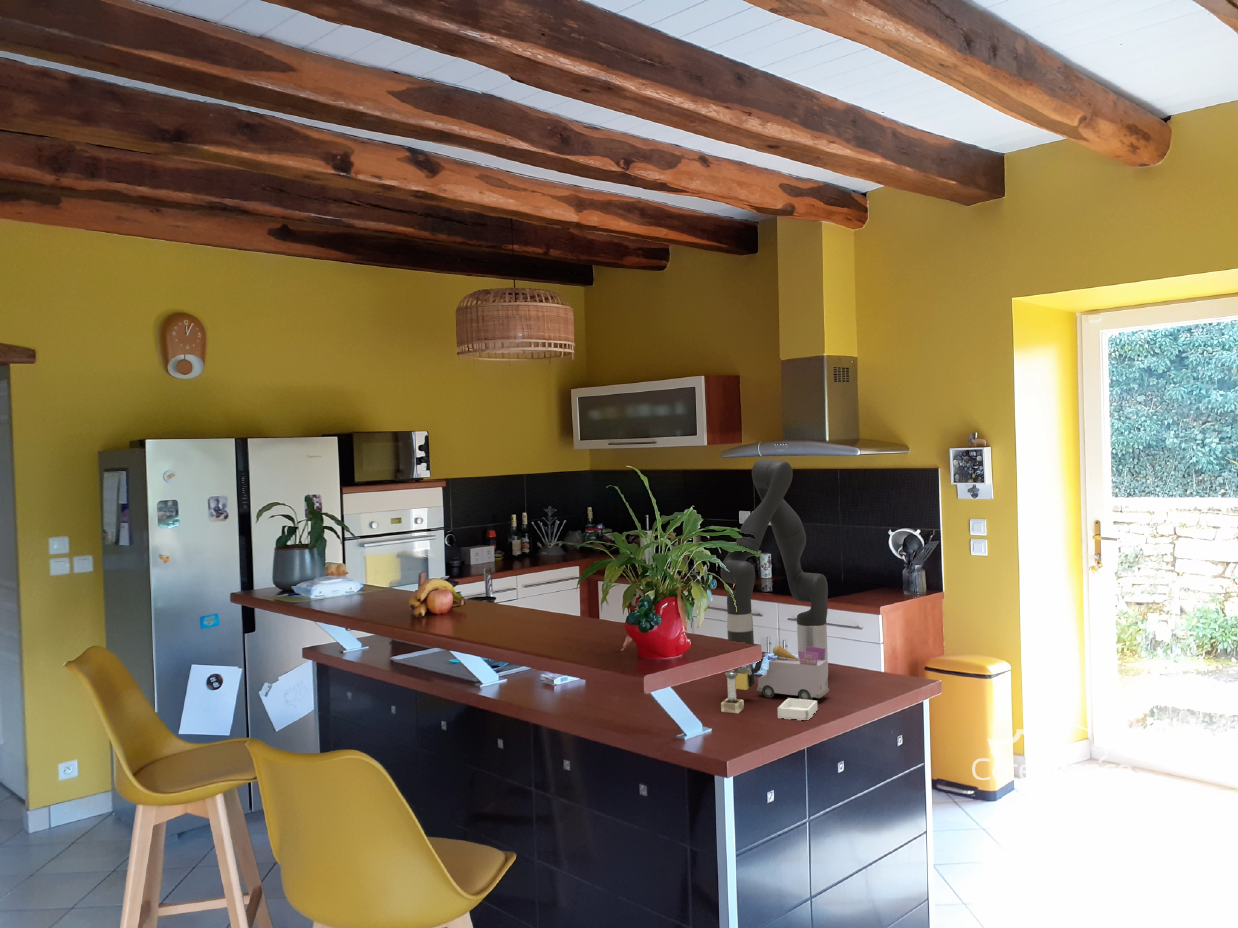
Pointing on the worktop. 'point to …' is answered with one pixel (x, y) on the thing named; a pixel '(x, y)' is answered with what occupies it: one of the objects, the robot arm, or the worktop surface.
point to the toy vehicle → (796, 674)
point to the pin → (731, 686)
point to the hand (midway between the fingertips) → (742, 685)
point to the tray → (797, 709)
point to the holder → (732, 706)
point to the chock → (742, 678)
